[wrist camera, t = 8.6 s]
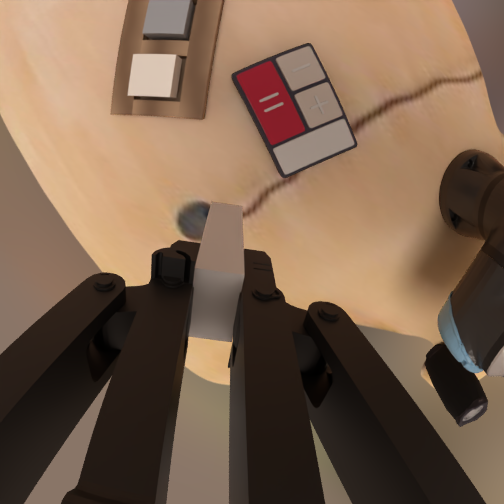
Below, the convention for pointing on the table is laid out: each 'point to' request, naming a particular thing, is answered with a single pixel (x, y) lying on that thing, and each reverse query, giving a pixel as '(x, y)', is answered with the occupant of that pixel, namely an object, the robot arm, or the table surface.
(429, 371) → the portable speaker
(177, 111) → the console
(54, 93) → the table surface
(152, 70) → the white key
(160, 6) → the grey key
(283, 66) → the calculator
